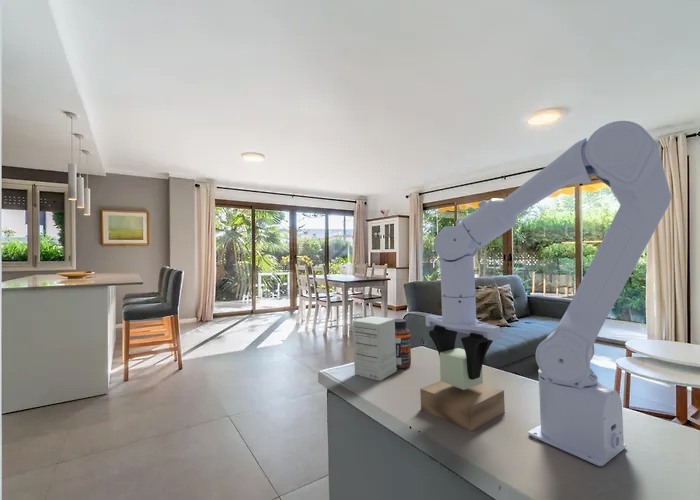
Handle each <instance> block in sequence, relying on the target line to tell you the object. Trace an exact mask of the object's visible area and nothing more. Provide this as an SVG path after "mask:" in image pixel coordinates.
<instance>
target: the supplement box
mask: <svg viewBox="0 0 700 500" xmlns="http://www.w3.org/2000/svg"><path fill="white" fill-rule="evenodd" d="M395 319H396V318H391V317H383V316H373V315H371V316H366V317H362V318H360V319H355V320H353V321H352V332H353V334H352V335H353V358H354V361H353V362H354V363H353V364H354V375H356V376H358V375H360V376H359V377H362V376H364V377H363V378H366V377H367V379H370V378H372V379H371V380H374V379H376V380H375V381H380V382H382V381H383V380H385V379H386V378H387V377H389V376H391V375H393V374H394V373H396V372H397V368H396V342H395Z"/></svg>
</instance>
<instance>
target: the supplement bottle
mask: <svg viewBox="0 0 700 500" xmlns="http://www.w3.org/2000/svg"><path fill="white" fill-rule="evenodd" d="M394 319H395V342H396V368H397V369H407V368H409V367H411V364H412V354H411V353H412V351H411V349H412V348H411V331H410V328H408V327H407V320H406V319H402V318H394Z"/></svg>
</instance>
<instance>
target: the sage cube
mask: <svg viewBox="0 0 700 500" xmlns="http://www.w3.org/2000/svg"><path fill="white" fill-rule="evenodd" d="M439 367H440V368H439V370H440V373H439V375H440V381H442V382H445V383H447V384H450V385H453V386H455V387H458V388H460V389H463V390H465V389H468V388H471V387H473V386H476V385H479V384H484V383H483V382H484V381H483V380H484V379H483V368H482V369H481V373H480V377H479V378H477V379H474V380H471V379H469V376H468V371H467V358H466V353H465V349H464V348H461V347H460V348H459V347H457V348H454V349H452V350H448V351H444V352H440V356H439Z"/></svg>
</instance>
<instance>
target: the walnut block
mask: <svg viewBox="0 0 700 500" xmlns="http://www.w3.org/2000/svg"><path fill="white" fill-rule="evenodd" d="M419 394H420V410H422V411H425V412H426V413H429V414H431V415H433V416H436V417H437V418H440V419H442V420H444V421H446V422H449V423H451V424H453V425H456V426H458V427H461V429H465V430H467V431H470V432H472V431H475V430H477V429H478V428H480V427H481V426H483V425H485V424H487V423H488V422H490V421H492V420H493V419H495V418H497V417H498V416H501V415H503V414H504V413H505V412H506V411H505V410H506V409H505V408H506V407H505V390H504V389H501V388H497V387H494V386H491V385H489V384H488V385H487V384H484V383H482V384H479V385H476V386H473V387H471V388H468V389H465V390H463V389H460V388H458V387H455V386H453V385H450V384H447V383H445V382H442V381H441V380H439V381H436V382H433V383H431V384H428V385H426V386H424V387H421V388H420V393H419Z"/></svg>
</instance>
